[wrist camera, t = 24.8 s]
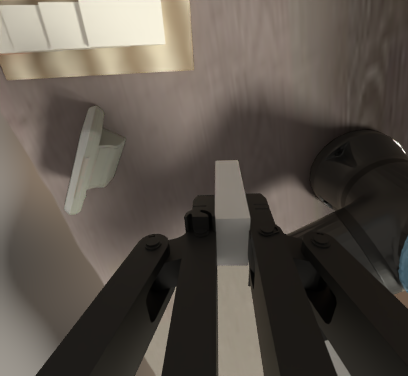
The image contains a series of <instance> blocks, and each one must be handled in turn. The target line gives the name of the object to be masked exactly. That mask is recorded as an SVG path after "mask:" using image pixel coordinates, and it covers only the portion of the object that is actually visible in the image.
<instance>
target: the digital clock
mask: <svg viewBox="0 0 408 376" xmlns="http://www.w3.org/2000/svg"><path fill="white" fill-rule="evenodd" d="M103 120H104V112H103V111H102V109H101V108H99V107H98V106H93V107H90V108H89V109H88V112H87V115H86V118H85V121H84V124H83V128H82V131H81V134H80V138H79V143H78V147H77V152H76V156H75V160H74V165H73V169H72V174H71V178H70V183H69V187H68V191H67V196H66V200H65V207H64V210H65V211H66V212H67V213H68V214H69V215H74V214H77V213H79V212H80V211H81V209H82V205H83V201H84V198H86V190H88V189H92V188H97V187H99V188H104V187H106V186H107V185H108V183H109V182H110V181H111V180H112V179H113V178H114V175H115V172H116V169H117V165H118V162H119V159H120V156H121V153H122V150H123V147H124V144H125V141H126V138H124V137H122V136H120V135H118V134H115V133H113V132H111V131H109V130H107V129H104V128H102V127H103Z"/></svg>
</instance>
